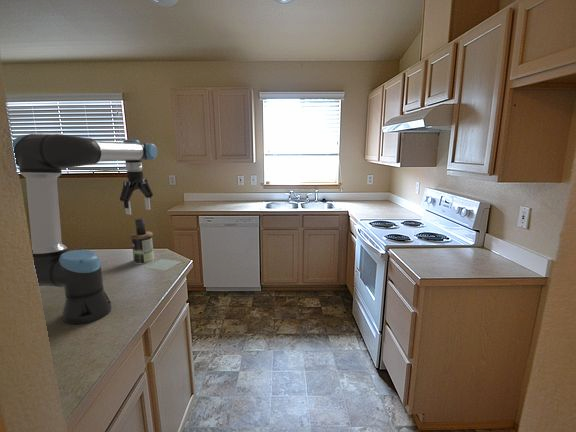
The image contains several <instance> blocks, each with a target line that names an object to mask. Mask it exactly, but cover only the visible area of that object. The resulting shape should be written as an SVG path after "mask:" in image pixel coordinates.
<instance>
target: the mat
mask: <svg viewBox="0 0 576 432" xmlns="http://www.w3.org/2000/svg"><path fill="white" fill-rule="evenodd" d="M181 262H182V260H181V261H179V260H172V259H166V258H165V259H164V258H160V259H158V260H157V261H154V262H151V264H148V265H146V266H144V269H151V270H152V269H154V270H161V271H167V270H169V269H171V268H172V267H175V266H176V265H178V264H180V263H181Z"/></svg>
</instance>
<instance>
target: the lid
mask: <svg viewBox="0 0 576 432" xmlns="http://www.w3.org/2000/svg"><path fill="white" fill-rule="evenodd" d="M134 221H135V223H134V224H135V230H136V231H135V232H132V233H131V234H130V235H129V239H144V238H149V237H151V236H152V237H153V236H154V235H153V234H154V233H153V232H152V231H147V230H146V221H145V218H143V217H142V218H136V219H135V220H134Z"/></svg>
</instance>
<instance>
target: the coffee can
mask: <svg viewBox="0 0 576 432" xmlns="http://www.w3.org/2000/svg"><path fill="white" fill-rule="evenodd" d="M130 239H131V238H130ZM153 242H154V241H153V236H151V237H149V238H144V239H131V249H132V256H133V257H132V258H133V263H134V264H135V265H136V264H139V265H142V264H149V263H153V261H154V260H155V255H154V246H153V244H154V243H153Z"/></svg>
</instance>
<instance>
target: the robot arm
mask: <svg viewBox="0 0 576 432" xmlns="http://www.w3.org/2000/svg"><path fill="white" fill-rule="evenodd" d="M12 141H13V147H14V153H15V158H16V164H17V165H16V167H18V170H19V174H20V175H21V176H23V177H24V178H25V181H26V193H27V194H26V196H27V204H28V205H27V206H28V216H29V217H28V218H29V226H30V227H29V228H30V240H31V246H32V250H33V257H34V265H35V269H36V274H37V278H38V283H39V285H38V286H40V287H45V286H46V287H57V288H59V287H60V288H64V295H65V301H64V302H65V303H64V306H63V311H62V319H63V322H64V323H66V324H70V325H83V324H87V323H92V322H95V321H97V320H99V319H102V318H104V317H105V316H107V315H108V314H109V313H110V312H111V311H112V308H113V307H112V301H111V300H110V299H109V297H108V295H107V294H106V292H105V290H104V289H105V288H104V282H103V274H102V264H101V263H102V262H101V261H100V256H99V255H98V253H97V252H95V251H94V250H89V249H71V250H68V246H66V245H65V244H63V243H62V231H61V230H62V228H61V216H60V205H59V191H58V190H59V189H58V178H59V177H60V176H61V175H62V169H71V168H78V167H82V166H90V165H91V166H93V165H96V164H98V163H99V162H119V161H121V162H122V161H124V163H125V169H126V171H127V172H126V179H128V181H127V180H126V181H123V187H122V189H121V194H120V198H119V201H120V202H123V207H124V210H125V214H126V215H132V208H131V201H130V199H131V197H132V196H133V193H134V191H135V190H140V192H141V193H142V194H143V195H144V205H145V206H144V208H145V210H147V211H148V210H149V211H150V210H151V198H152V197H153V195H154V194H153V191H152V190H151V188H150V185H149V183H148V179H144V172H143V160H145V161H151V160H153V161H154V160H156V158H157V157H158V148H157V145H156V144H154V143H148V142H142V143H141V142H140V140H138V139H124V140H122V141H121V142H119V141H101V140H100V141H99V140H96V139H94V138H91V137H82V136H81V137H80V136H75V135H69V134H61V133H60V134H59V133H54V134H53V133H50V134H49V133H48V134H47V133H30V134H22V135H19V136H17V137H15V138H14V139H13V140H12Z"/></svg>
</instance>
